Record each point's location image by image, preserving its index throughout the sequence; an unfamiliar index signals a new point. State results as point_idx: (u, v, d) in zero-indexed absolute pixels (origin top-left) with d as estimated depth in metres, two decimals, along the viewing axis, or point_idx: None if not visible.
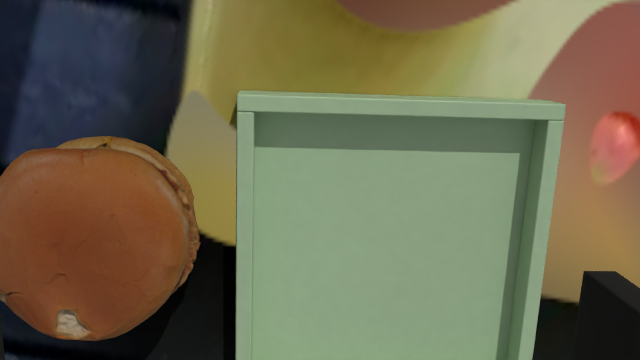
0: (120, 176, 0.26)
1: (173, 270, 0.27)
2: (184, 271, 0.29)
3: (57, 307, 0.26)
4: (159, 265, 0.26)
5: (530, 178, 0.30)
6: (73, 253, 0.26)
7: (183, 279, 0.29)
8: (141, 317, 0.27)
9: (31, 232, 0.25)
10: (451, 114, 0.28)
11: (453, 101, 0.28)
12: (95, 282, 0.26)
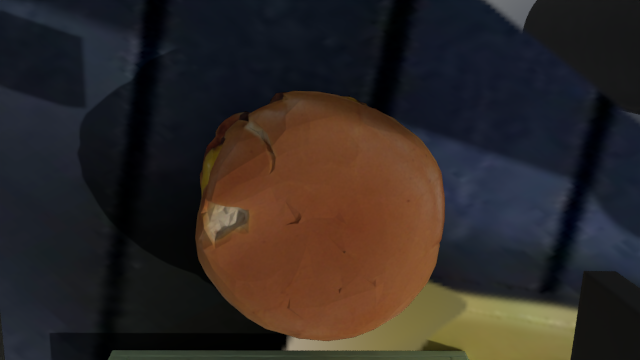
0: (414, 285, 0.22)
1: (291, 333, 0.22)
2: None
3: (251, 211, 0.20)
4: (304, 327, 0.22)
5: None
6: (326, 236, 0.21)
7: None
8: (231, 299, 0.22)
9: (359, 193, 0.20)
10: None
11: None
12: (287, 259, 0.21)
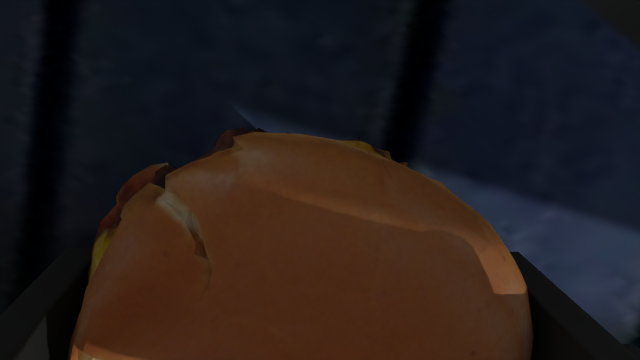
0: None
1: None
2: None
3: None
4: None
5: None
6: None
7: None
8: None
9: (379, 343, 0.10)
10: None
11: None
12: None
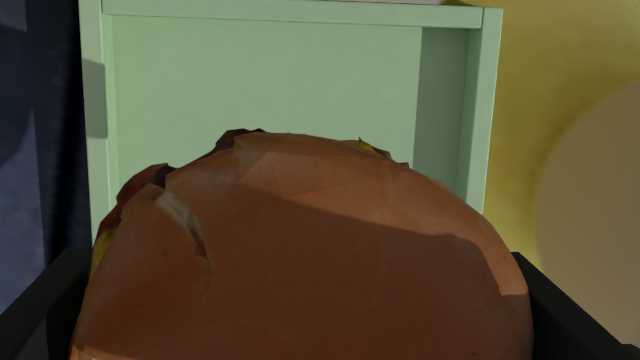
0: None
1: None
2: None
3: None
4: None
5: None
6: None
7: None
8: None
9: (379, 343, 0.10)
10: None
11: None
12: None
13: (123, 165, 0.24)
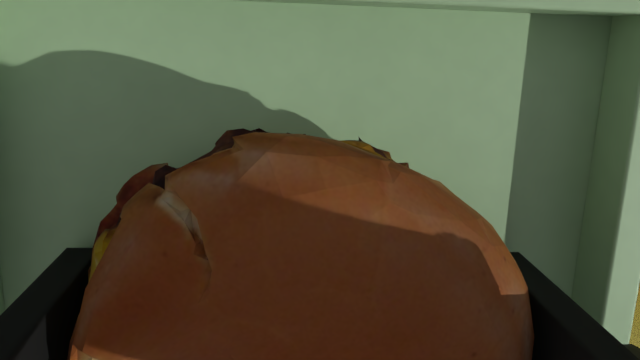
0: None
1: None
2: None
3: None
4: None
5: None
6: None
7: None
8: None
9: (378, 344, 0.10)
10: None
11: None
12: None
13: (9, 252, 0.14)
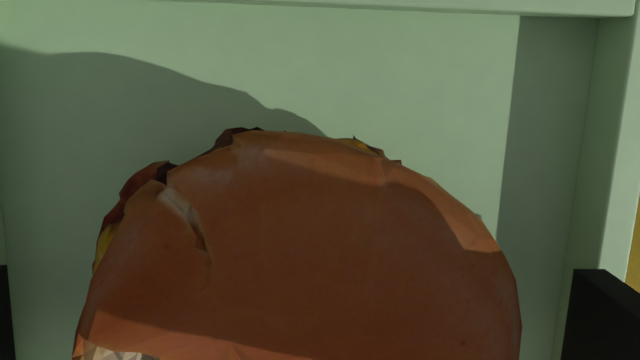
0: None
1: None
2: None
3: (166, 359, 0.11)
4: None
5: None
6: None
7: None
8: None
9: (371, 332, 0.10)
10: None
11: None
12: None
13: (15, 248, 0.14)
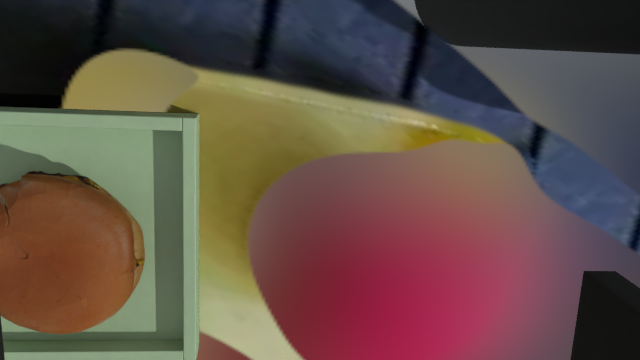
0: (112, 298, 0.34)
1: (33, 329, 0.34)
2: None
3: None
4: (38, 324, 0.33)
5: (135, 342, 0.38)
6: (46, 267, 0.32)
7: None
8: None
9: (63, 241, 0.32)
10: (185, 280, 0.36)
11: (195, 281, 0.37)
12: (21, 280, 0.33)
13: None
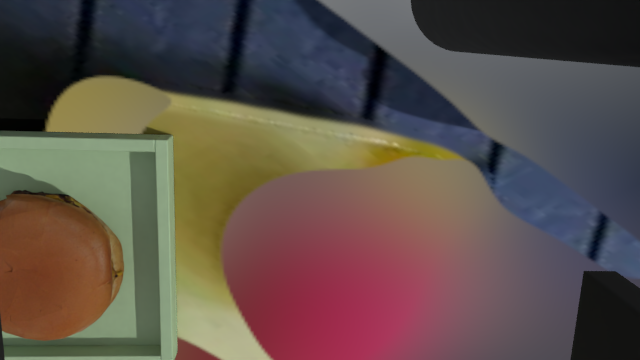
0: (91, 308, 0.36)
1: (19, 336, 0.37)
2: None
3: None
4: (23, 332, 0.36)
5: (117, 347, 0.41)
6: (29, 279, 0.35)
7: None
8: None
9: (44, 256, 0.35)
10: (161, 290, 0.39)
11: (170, 291, 0.39)
12: (7, 292, 0.35)
13: None
